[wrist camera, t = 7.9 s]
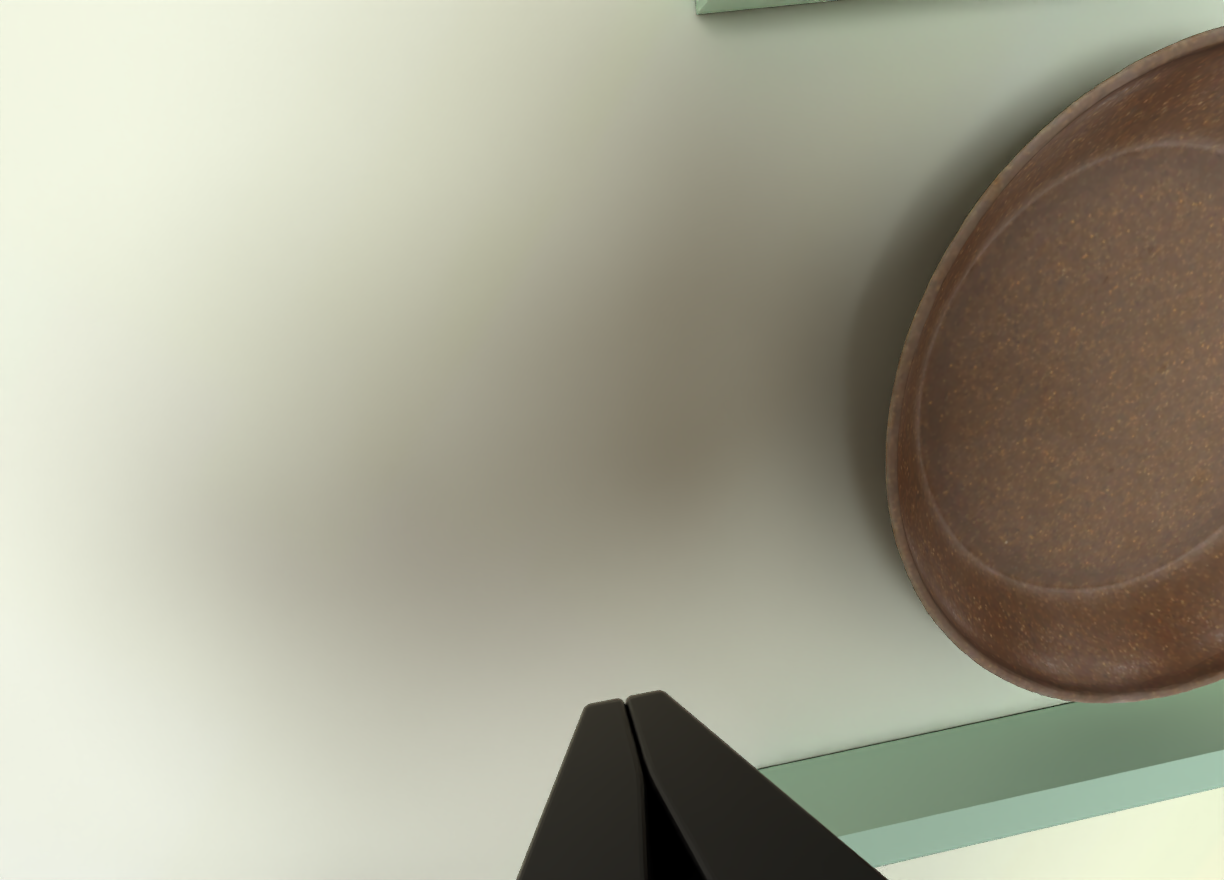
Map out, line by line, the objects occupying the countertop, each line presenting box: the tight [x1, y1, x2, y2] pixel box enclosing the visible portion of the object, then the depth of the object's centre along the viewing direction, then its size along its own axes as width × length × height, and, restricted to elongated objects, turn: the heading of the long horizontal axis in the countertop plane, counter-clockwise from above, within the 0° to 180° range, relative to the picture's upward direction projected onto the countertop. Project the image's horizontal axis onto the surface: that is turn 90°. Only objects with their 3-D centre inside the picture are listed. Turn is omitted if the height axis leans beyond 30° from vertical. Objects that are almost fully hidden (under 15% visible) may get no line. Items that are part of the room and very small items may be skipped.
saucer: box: [886, 26, 1224, 703], centre depth 16 cm, size 15×15×3 cm
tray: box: [695, 0, 1224, 868], centre depth 16 cm, size 20×20×2 cm
